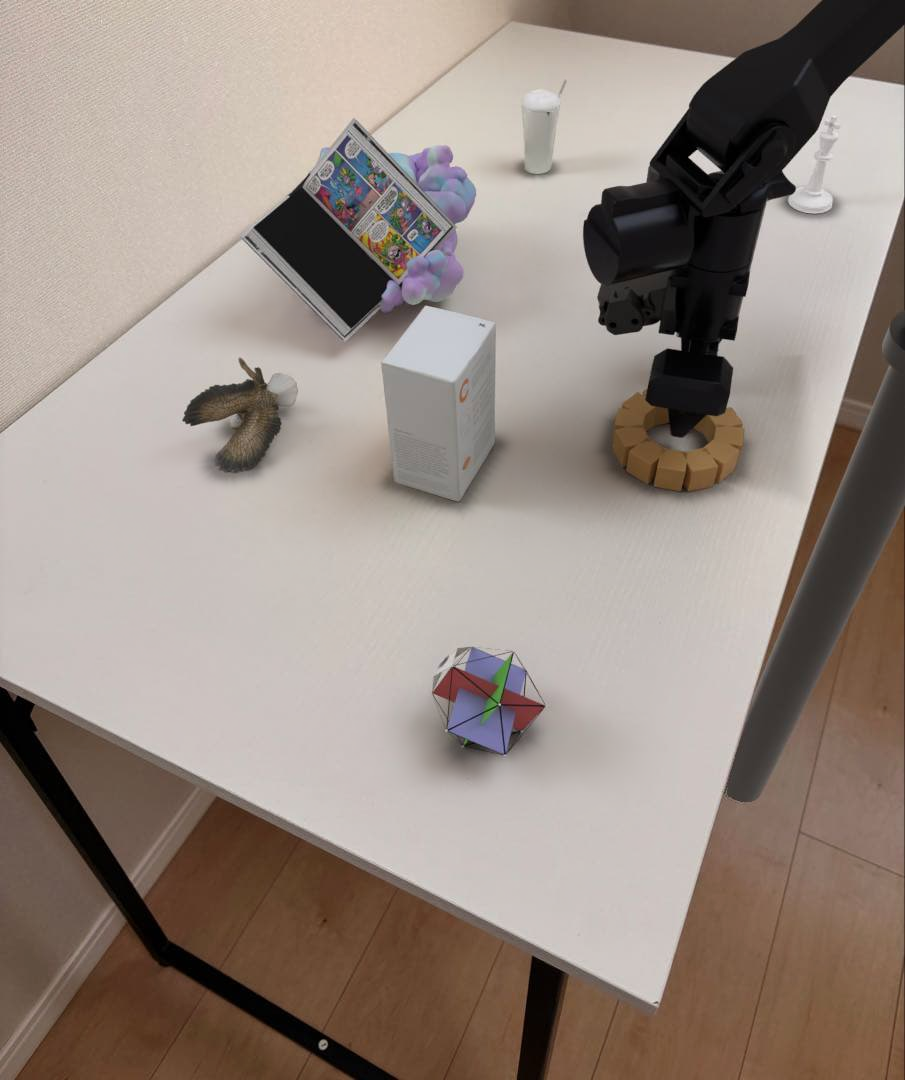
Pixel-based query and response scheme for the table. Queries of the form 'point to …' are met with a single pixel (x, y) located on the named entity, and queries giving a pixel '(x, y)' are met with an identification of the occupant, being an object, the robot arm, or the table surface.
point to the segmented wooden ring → (672, 464)
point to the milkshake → (540, 128)
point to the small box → (441, 401)
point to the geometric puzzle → (485, 699)
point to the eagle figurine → (244, 415)
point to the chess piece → (817, 176)
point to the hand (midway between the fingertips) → (682, 406)
